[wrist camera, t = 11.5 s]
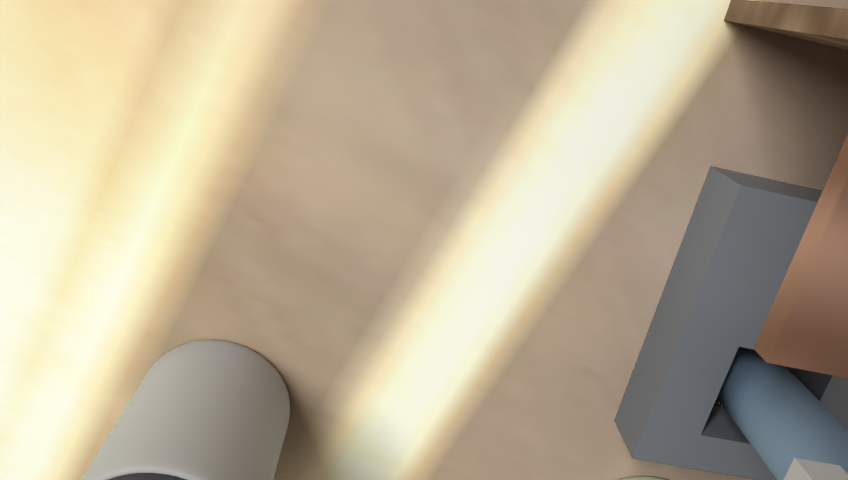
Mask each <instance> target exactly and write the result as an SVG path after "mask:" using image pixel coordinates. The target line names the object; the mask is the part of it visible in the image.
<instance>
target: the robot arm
mask: <svg viewBox="0 0 848 480" xmlns="http://www.w3.org/2000/svg"><path fill="white" fill-rule="evenodd" d="M784 480H848V474H847V473H846V472H845V471H844V470H843V468H842V467H841V466H839V465H833V464H828V463H822V462H816V461H811V460H805V459H799V458H794V460H793V462H792V464H791V466H790V468H789V470H788V472H787V474H786V476H785V478H784Z"/></svg>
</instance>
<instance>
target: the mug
mask: <svg viewBox="0 0 848 480" xmlns="http://www.w3.org/2000/svg"><path fill="white" fill-rule="evenodd" d="M289 419H290V399H289V395H288V391H287V388H286V385H285V383H284V381H283V379H282V377H281V376H280V374H279V373H278V371H277V370H276V369H275V368H274V367H273V366H272V365H271V364H270V362H268V361H267V360H266V359H265V358H264V357H262V356H261V355H259V354H258V353H256V352H255V351H253V350H251V349H249V348H247V347H245V346H242V345H239V344H236V343H232V342H228V341H222V340H199V341H193V342H189V343H186V344H183V345H180V346H178V347H176V348H174V349H172V350H170V351H169V352H167V353H166V354H164V355H163V356H162V357H160V358H159V359H158V360H157V361H156V362H155V363H154V364H153V366H152V367H151V368H150V370H149V371H148V372H147V374H146V375H145V377H144V378H143V380H142V382H141V384H140V385H139V387H138V389H137V391H136V393H135V394H134V396H133V398H132V399H131V401H130V403H129V404H128V406H127V407H126V409H125V411H124V412H123V414H122V415H121V417H120V419H119V420H118V422H117V423H116V425H115V427H114V428H113V430H112V431H111V433H110V435H109V436H108V438H107V439H106V441H105V443H104V444H103V446H102V447H101V449H100V450H99V452H98V454H97V455H96V457H95V458H94V460H93V462H92V463H91V465H90V466H89V468H88V470H87V471H86V473H85V474H84V476H83V478H82V479H81V480H274V476H275V472H276V468H277V464H278V460H279V456H280V452H281V449H282V445H283V442H284V439H285V435H286V432H287V428H288V424H289Z"/></svg>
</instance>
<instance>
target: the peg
mask: <svg viewBox="0 0 848 480" xmlns="http://www.w3.org/2000/svg"><path fill="white" fill-rule="evenodd" d="M717 399H718V401H719V402H720V403H721V405H722V406H723V407H724V409H725V410H726V411H727V413H728V414H729V415H730V417H731V418H732V419H733V421H734V422H735V423H736V425H737V426H738V428H739V429H740V430H741V432H742V433H743V434H744V436H745V437H746V438H747V440H748V441H749V442H750V444H751V445H752V446H753V448H754V449H755V450H756V452H757V453H758V455H759V456H760V457H761V459H762V460H763V461H764V463H765V464H766V465H767V467H768V468H769V469H770V471H771V472H772V473H773V475H774V476H775V477H776V479H777V480H784V478H785V476H786V474H787V472H788V470H789V468H790V466H791V464H792V462H793V460H794V458H799V459H805V460H811V461H816V462H822V463H828V464H833V465H839V466H841V467H842V468H843V470H844V471H845V472H846V473H847V474H848V430H847V429H846V428H845V427H844V426H843V425H842V424H841V423H840V422H839V421H838V420H837V419H836V418H835V417H834V416H833V414H832V413H831V412H830V411H829V410H828V409H827V408H826V407H825V406H824V405H823V404H822V403H821V402H820V401H819V400H818V399H817V398H816V397H815V396H814V395H813V394H812V393H811V392H810V391H809V390H808V389H807V388H806V387H805V386H804V385H803V384H802V383H801V382H800V381H799V380H798V379H797V378H796V377H795V375H794V374H793V373H792V372H791V371H790V370H789V369H788V368H787V367H786V366H782V365H776V364H771V363H766V361H765V360H764V359H763V358H762V357H761V356H760V355H759V354H758V353H757V352H756V351H755V350H754V349H748V348H743V347H739V348H738V350H737V352H736V355H735V357H734V359H733V362H732V364H731V366H730V369H729V371H728V373H727V375H726V378H725V380H724V382H723V385H722V387H721V389H720V392H719V394H718V396H717Z"/></svg>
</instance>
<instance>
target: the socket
mask: <svg viewBox="0 0 848 480" xmlns="http://www.w3.org/2000/svg"><path fill="white" fill-rule="evenodd" d="M821 194H822V191H819V190H815V189H810V188H806V187H801V186H797V185H792V184H788V183H783V182H779V181H775V180H770V179H766V178H761V177H757V176H752V175H748V174H743V173H739V172H734V171H730V170H725V169H721V168H716V167H712V166H711V167H710V169H709V172H708V175H707V177H706V180H705V183H704V185H703V188H702V190H701V193H700V196H699V198H698V201H697V204H696V206H695V209H694V212H693V214H692V217H691V220H690V222H689V225H688V227H687V230H686V233H685V235H684V238H683V241H682V243H681V246H680V249H679V251H678V254H677V257H676V259H675V262H674V264H673V267H672V270H671V272H670V275H669V278H668V280H667V283H666V286H665V288H664V291H663V294H662V296H661V299H660V301H659V304H658V307H657V309H656V312H655V315H654V317H653V320H652V323H651V325H650V328H649V331H648V333H647V336H646V338H645V341H644V344H643V346H642V349H641V352H640V354H639V357H638V360H637V362H636V365H635V368H634V370H633V373H632V375H631V378H630V381H629V383H628V386H627V389H626V391H625V394H624V397H623V399H622V402H621V405H620V407H619V410H618V412H617V415H616V418H615V420H614V421H615V423H616V425H617V427H618V429H619V431H620V433H621V435H622V438H623V440H624V442H625V444H626V446H627V448H628V450H629V452H630V454H631V456H632V458H634V459H639V460H645V461H651V462H657V463H663V464H668V465H674V466H680V467H686V468H691V469H697V470H703V471H709V472H715V473H720V474H726V475H732V476H738V477H743V478H749V479H755V480H777V479H776V477H775V476H774V475H773V473H772V472H771V471H770V469H769V468H768V467H767V465H766V464H765V463H764V461H763V460H762V459H761V457H760V456H759V455H758V453H757V452H756V450H755V449H754V448H753V446H752V445H751V444H750V442H749V441H748V440H747V438H746V437H745V436H744V434H743V433H742V432H741V430H740V429H739V428H738V426H737V425H736V423H735V422H734V421H733V419H732V418H731V417H730V415H729V414H728V413H727V411H726V410H725V409H724V407H718V406H714V403H715V401H716V399H717V396H718V394H719V392H720V389H721V387H722V385H723V382H724V380H725V378H726V375H727V373H728V371H729V369H730V366H731V364H732V362H733V359H734V357H735V355H736V352H737V350H738V348H739V347H743V348H748V349H753V348H754V346H755V343H756V341H757V339H758V337H759V334H760V332H761V330H762V328H763V325H764V323H765V321H766V318H767V316H768V314H769V312H770V309H771V307H772V305H773V303H774V300H775V298H776V296H777V293H778V291H779V289H780V287H781V284H782V282H783V280H784V278H785V275H786V273H787V271H788V269H789V266H790V264H791V262H792V259H793V257H794V255H795V253H796V250H797V248H798V246H799V244H800V241H801V239H802V237H803V234H804V232H805V230H806V228H807V225H808V223H809V221H810V219H811V216H812V214H813V212H814V209H815V207H816V205H817V203H818V200H819V198H820V196H821ZM787 368H788V369H789V370H790V371H791V372H792V373H793V374H794V375H795V377H796V378H797V379H798V380H799V381H800V382H801V383H802V384H803V385H804V386H805V387H806V388H807V389H808V390H809V391H810V392H811V393H812V394H813V395H814V396H815V397H816V398H817V399H818V400H819V401H820V402H821V403H822V404H823V405H824V406H825V407H826V408H827V409H828V410H829V411H830V412H831V413H832V414H833V416H834V417H835V418H836V419H837V420H838V421H839V422H840V423H841V424H842V425H843V426H844V427H845V428H846V429H847V430H848V378H844V377H839V376H833V375H828V374H823V373H818V372H813V371H807V370H802V369H797V368H792V367H787Z"/></svg>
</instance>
